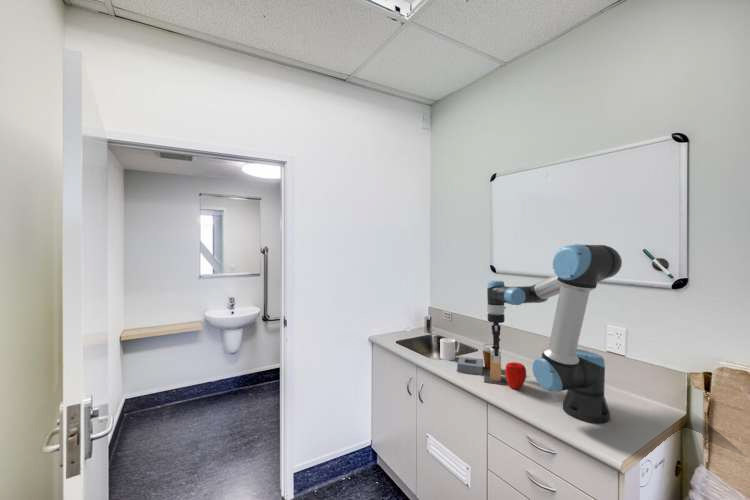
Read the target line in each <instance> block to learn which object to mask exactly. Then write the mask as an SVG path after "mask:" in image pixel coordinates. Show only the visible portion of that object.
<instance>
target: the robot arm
mask: <svg viewBox="0 0 750 500" xmlns="http://www.w3.org/2000/svg"><path fill="white" fill-rule="evenodd" d="M622 261H623V260H622V256H621V255H620V253H619V252H618V251H617V250H616V249H614V248H613V247H612V246H610V245H609V246H608V245H605V244H578V243H577V244H571V245H570V244H569V245H565V246H563V247H562V248H560V249H559V250H558V251H556V252H555V254H554V256H553V259H552V269H553V270H554V271H553V272H554V275H552V276H549V277H548V278H546V279H544V280H543V279H542V280H541V281H539V282H537V283H535V284H533V285H527V286H525V285H524V286H507V285H506V286H505V282H504V281H503V280H489V281H488V282H487V289H486V290H487V293H486V294H487V303H486V304H487V308H486V309H487V322H488V323H489V322H490V323H493V324H492V325H491V334H492V344H493V347H492V349H493V363H500V353H499V348H501V346H500V341H501V338H500V336H501V330H502V329H501V325H500V324H502V323H505V314H504V313H505V310H506V308H507V307H506V306H505V304H508V305H512V306H514V305H515V306H521V305H522V304H535V303H536V304H540V303H544V302H547V301H548V300H549V298H551V297H553V296H557V295H558V299H557V303H556V309H555V313H554V317H553V318H554V319H553V322H552V327H551V328H552V329H551V332H550V339H549V342H548V346H545V347H543V349H542V354H541V356H540V357H538V358H536V359H534V360H533V362H532V367H531V368H532V373H533V377H534V378H535V381H536V382H537V383H538V385H539V387H541V389H544V390H545V391H547V392H550V393H551V392H553V393H554V392H558V393H559V392H561V391H566V393H565V395H564V397H563V399H562V410H563V411H564V412H565V413H566V414H567V415H569V416H571V417H573V418H575V419H578V420H580V421H584V422H587V423H593V424H605V423H608V422H610V420H611V411H610V408H609V406H608V403H607V400H606V396H605V382H606V379H605V378H606V377H605V376H606V375H605V374H606V373H605V372H606V366H605V365H606V364H605V359H604V357H603V356H601V355H600V354H598V353H594V352H591V351H588V350H582V349H579V348H578V345H579V339H580V336H581V332H582V327H583V322H584V318H585V313H586V308H587V305H588V301H589V296H590V292H591V291H593V290H595V289H596V288H597V286H598V282H601V281H603V280H607V279H609V278H612V277H614V276H615V275H617V274H618V273H619V272H620V270H621V268H622V265H623V262H622ZM499 346H500V347H499Z"/></svg>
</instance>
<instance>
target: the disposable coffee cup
mask: <svg viewBox="0 0 750 500" xmlns="http://www.w3.org/2000/svg"><path fill="white" fill-rule="evenodd" d="M492 347H493V343H485V344H482V347H481V349H482V354H483V365H484V370H486V371H487V372H490V350H491V348H492ZM499 347H500V348H499V349H501V350H502V347H501V346H500V345H499Z"/></svg>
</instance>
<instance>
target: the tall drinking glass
mask: <svg viewBox="0 0 750 500" xmlns="http://www.w3.org/2000/svg"><path fill="white" fill-rule="evenodd" d="M499 353H500V363H493V349H492V348H491V350H490V371H489V374H490V380H492V381H500V382H501V376H502V363H501V362H502V348H501V349H499Z"/></svg>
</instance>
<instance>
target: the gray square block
mask: <svg viewBox="0 0 750 500" xmlns="http://www.w3.org/2000/svg"><path fill="white" fill-rule="evenodd" d="M458 358H459V359H458V361H457V362H456V363H457V364H456V366H457V368H456V370H457V372H458V373H465V374H472V375H477V376H478V375H480V376H482V375H483V372H484V371H483V370H484V358H476V357H468V356H467V357H466V356H459V357H458Z"/></svg>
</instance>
